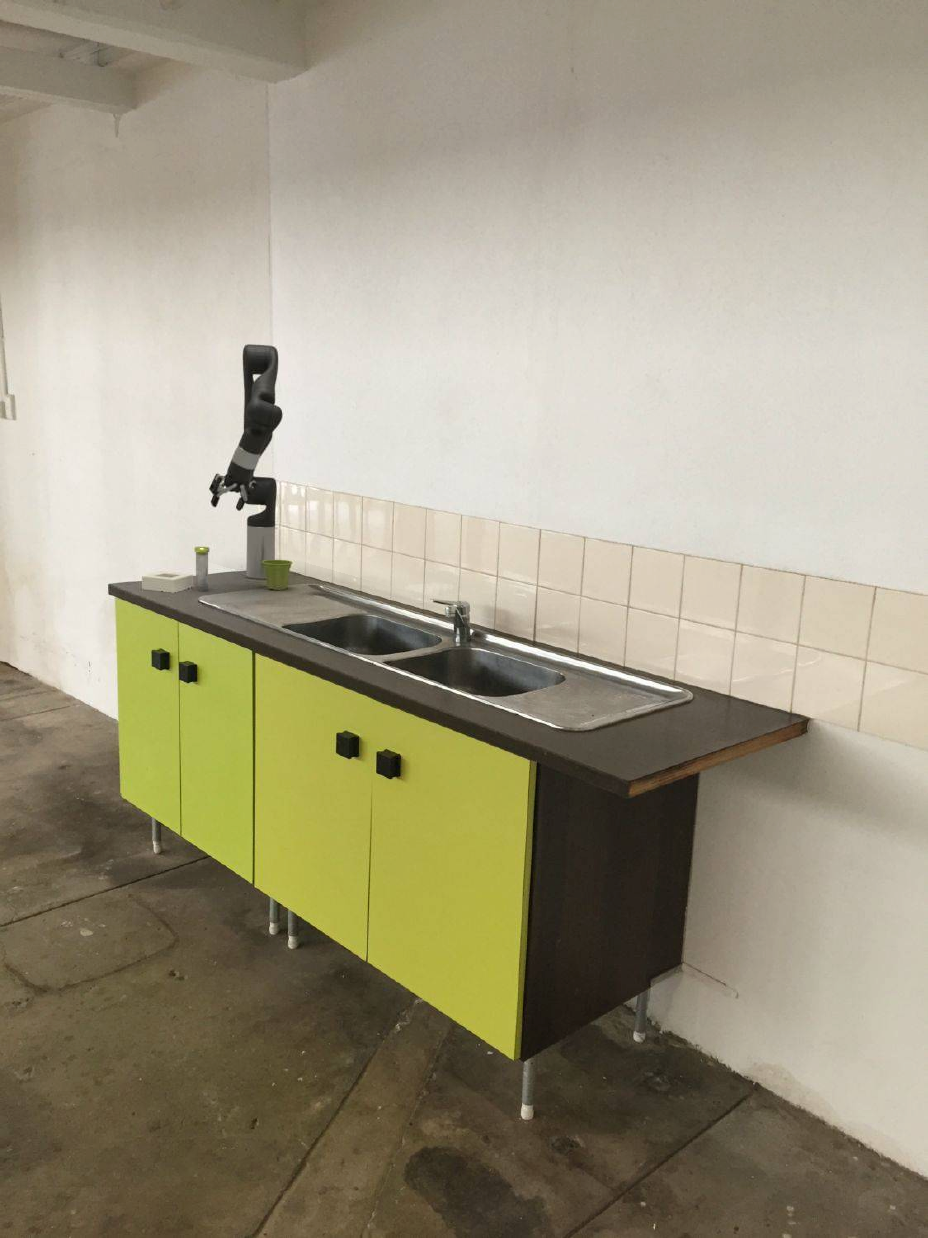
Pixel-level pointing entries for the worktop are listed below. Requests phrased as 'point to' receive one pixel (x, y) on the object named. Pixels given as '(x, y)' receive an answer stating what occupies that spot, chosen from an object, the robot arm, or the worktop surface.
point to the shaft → (202, 568)
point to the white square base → (167, 581)
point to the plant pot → (277, 573)
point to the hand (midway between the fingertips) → (225, 507)
